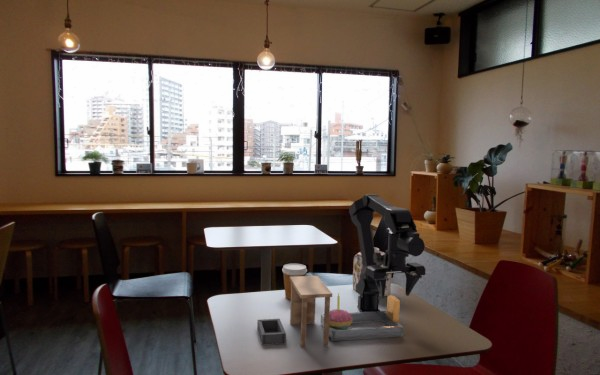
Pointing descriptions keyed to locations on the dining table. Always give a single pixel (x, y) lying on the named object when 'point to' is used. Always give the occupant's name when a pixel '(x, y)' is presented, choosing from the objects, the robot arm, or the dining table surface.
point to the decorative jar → (359, 266)
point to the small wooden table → (308, 303)
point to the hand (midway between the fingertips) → (394, 296)
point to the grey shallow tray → (371, 332)
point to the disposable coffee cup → (292, 271)
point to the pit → (271, 331)
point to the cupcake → (339, 317)
